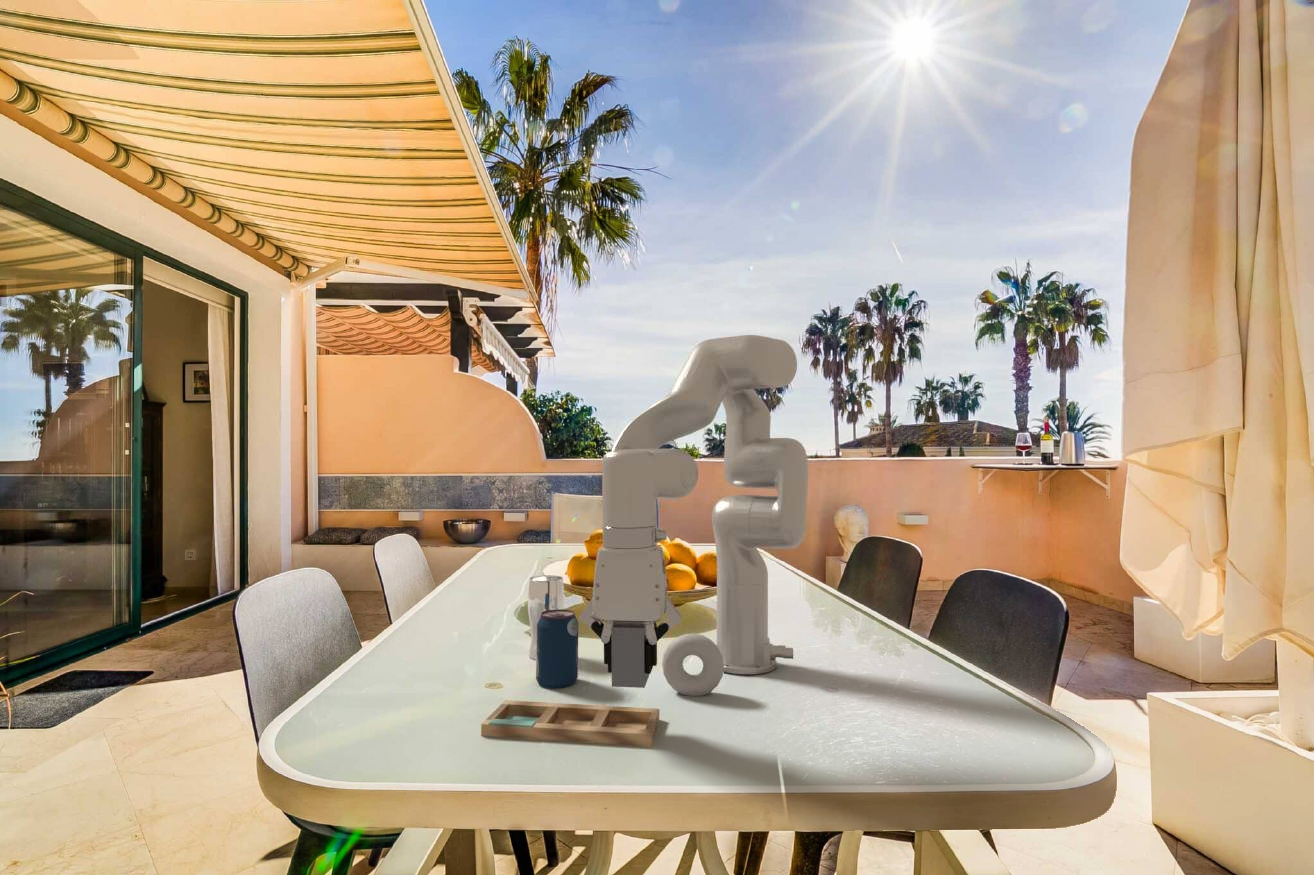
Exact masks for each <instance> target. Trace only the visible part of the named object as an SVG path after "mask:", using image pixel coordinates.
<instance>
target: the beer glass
mask: <svg viewBox="0 0 1314 875" xmlns="http://www.w3.org/2000/svg"><path fill="white" fill-rule="evenodd" d="M528 580H529V582H528V588H527V590H528V591H527V611H528V613H527V614H528V621H529V627H530V636H531V641H530V647H529V651H528V652H529V653H528V657H529V658H530V659H531V658H532V660H534V659H536V656H537V623H538V621H539V619H540V617H541V613H542V612H544V611H548V610H556V609H563V610H564V604H565V594H564V593H565V590H564V589H565V588H564V587H565V586H564V577H563V576H559V575H551V574H550V575H549V574H548V575H547V574H546V575H545V574H544V575H543V574H542V575H535V576H530V577H529V579H528Z"/></svg>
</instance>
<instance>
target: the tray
mask: <svg viewBox="0 0 1314 875" xmlns="http://www.w3.org/2000/svg"><path fill="white" fill-rule="evenodd" d="M660 710H661V709H660V708H654V707H653V708H650V707H649V708H648V707H634V706H632V707H631V706H630V707H629V706H616V705H615V706H614V705H613V706H612V705H598V704H596V705H593V704H583V703H582V704H580V703H579V704H578V703H564V702H563V703H562V702H561V703H560V702H542V701H541V702H540V701H529V700H528V701H526V700H525V701H524V700H523V701H522V700H509V699H507V700H504V701H503V702H502V703H501V704H500V705H499V706H498V707H497V708H496V709H495V710H493V711H492V713H491V714H490V715H489V716H488V717H486V719H485V720H484V721H482V722H481V724H480V725H481V727H480V736H481V737H491V738H492V737H494V738H508V739H509V738H510V739H525V740H541V741H555V742H556V741H557V742H570V743H571V742H572V743H587V744H604V745H605V744H606V745H618V746H619V745H620V746H632V747H633V746H635V747H636V746H638V747H650V748H651V747H652V746H653V742H654V738H655V736H656V732H657V729H658V725H659V722H660Z"/></svg>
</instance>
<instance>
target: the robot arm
mask: <svg viewBox="0 0 1314 875" xmlns="http://www.w3.org/2000/svg"><path fill="white" fill-rule="evenodd" d="M797 360H798V359H797V355H796V352H795V350H794V349H793V347H792V346H791V345H790V344H789V343H788V342H787V341H786V340H783V339H779V338H772V337H769V336H763V335H757V334H745V335H744V334H743V335H737V336H728V337H727V336H726V337H718V338H717V337H716V338H710V339H705V340H703V341H701V342H699V343H698V344H696V345H695V346H694V347H693V348H692V350H691V352H690V353H689V355H688V356H687V360H685V363H684V365H683V367H682V369H681V370H680V373H679V374H678V376H677V378H676V380H675V382H674V384H673V386H672V388H671V389H670V391H669V392H668V394H667V395H666V396H664V397H663V398H661V399H659V400H658V401H656V402H655V403H654V404H653V405H651V406H650V407H648V408H646V410H644V411H643V412H642V413H640V414H639V415H637V416H636V417H635V418H633V419H632V420H631V421H630V422H629V423H628V424H627V425H626V426H625V428H624V429H623V430H622V432H621V433H620V435H619V437H618V438H617V440H616V441H615V443H614V445H613V447H612V449H611V450H610V451H608V452H607V453H605V454H604V456H603V459H602V464H601V470H602V472H601V475H602V477H601V480H602V482H601V484H602V486H601V487H602V489H601V490H602V492H601V493H602V495H601V496H602V500H601V502H602V503H601V504H602V546H600V547H598V549H597V553H596V559H595V567H594V574H593V575H594V578H593V588H592V598H591V599H590V600H589V602H588V603H587V604H586V606H585V607H584V609H583V610H582V611H581V612H580V614H579V615H578V618H579V620H580V621H581V622H582V623H584V624H585V625H586V626H588V627H589V628H591V630H592V631H593V632H594V633H595V635H596V636H598V638H600V642H602V643H603V664H604V665H607V673H608V674H610V673H611V674H612V651H611V627H612V626H613V624H614V623H615V622H642V623H644V625H645V629H646V633H647V637H648V638H647V643H646V645H645V673H646V674H649V675H651V673H652V671H653V667H657V664H658V641H659V640H660V639H661V638H662V637H664V635H666V634H667V632H668V631H669V630H671V629H673V628H674V627H675V626H677V625H678V624H680V623H681V621H682V618H683V617H682V615H681V613H680V612H679V610H678V608H676V606H675V605H674V603H673V602H672V600H671V599H670V598H669V597H668V582H667V579H668V578H667V569H666V560H665V554H664V551H663V547H662V546H658V545H657V544H658V543H659V542H661V541H667V540H668V538H667V537H668V533H667V532H668V531H667V530H663V529H660V528H659V527H658V525H657V500H678V499H682V498H684V497H686V496H688V495H689V494H691V493H692V492H693V490H694V489H695V487H696V485H697V483H698V479H699V468H698V465H697V463H696V461H695V458H694V457H693V456H692V455H691V454H690V453H688V452H686V451H685V450H683V449H679V448H678V449H677V448H661V447H662V446H664V445H666V444H668V443H670V442H673V441H674V440H678V439H680V438H683V437H686V436H690V435H691V434H694V433H696V432H699V431H700V430H703V429H704V428H706V427H708V426H709V425H710V424H711V423H712V422H713V421H714V420H715V418H716V415H717V413H718V411H719V408H720V406H721V404H722V406H723V408H724V411H725V416H726V417H725V420H726V422H725V423H726V424H725V426H726V427H725V442H724V452H723V453H724V454H723V455H724V457H723V473H724V474H723V475H724V478H725V481H726V482H727V483H728V484H729V485H730V486H732V487H736V488H743V489H762V490H764V489H765V490H766V489H768V490H776V491H777V495H773V496H772V495H759V494H758V495H757V494H754V495H753V494H731V495H727V496H724V497H723V498H720V499H719V500H718V501H717V502H716V503H715V504H714V507H713V509H712V513H711V524H712V532H713V535H714V543H715V551H716V554H715V555H716V646H717V647H718V648H719V650H720V652H721V654H722V656H723V662H724V670H723V673H727V674H732V675H733V674H734V675H760V674H766V673H770V672H772V671H774V670H775V669H776V668H777V658H781V659H782V658H783V659H789V660H790V659H794V648H793V647H786V645H783V644H781V645H776V644H775V645H774V644H773V643H771V641H770V637H769V618H768V617H769V573H768V572H769V571H768V568H767V564H766V562H765V560H764V558H763V556H762V555H761V553H760V551H759V550H758V548H765V549H779V550H791V549H795V548H797V547H799V546H800V545H801V544H802V543H803V540H804V538H805V534H806V528H807V514H808V513H807V512H808V511H807V510H808V490H809V487H808V486H809V461H808V455H807V453H806V452H807V451H806V449H805V446H803V444H802V443H801V442H800V441H799V440H796V439H794V438H790V437H771V422H772V421H771V417H772V416H771V413H770V410H769V408H768V406H767V404H766V403H765V401H764V400H763V399H762V398H761V396H759V394H758V393H757V392H756V391H755V390H758V389H761V390H762V389H773V388H784V387H786V386H789V385H790V384H791V383H792V381H794V379H795V377H796V374H797V371H798V370H797V369H798V361H797ZM665 613H666V614H667V616H668V618H667V619H665V620H664V621H662V622H661V623H660V624H659V625H658V622H660V621H661V620H663V619H664V618H665Z"/></svg>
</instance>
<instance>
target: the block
mask: <svg viewBox="0 0 1314 875" xmlns="http://www.w3.org/2000/svg"><path fill="white" fill-rule="evenodd" d="M647 638H648V637H647V633H646V629H645V625H644V623H642V622H615V623H614V624H613V626H612V627H611V651H612V673H611V687H613V688H615V687H616V688H637V689H639V688H640V689H641V688H642V689H643V688H645V687H646V685H647V682H648V680H649V677H650V674H646V673H645V645H646V643H647Z"/></svg>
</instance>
